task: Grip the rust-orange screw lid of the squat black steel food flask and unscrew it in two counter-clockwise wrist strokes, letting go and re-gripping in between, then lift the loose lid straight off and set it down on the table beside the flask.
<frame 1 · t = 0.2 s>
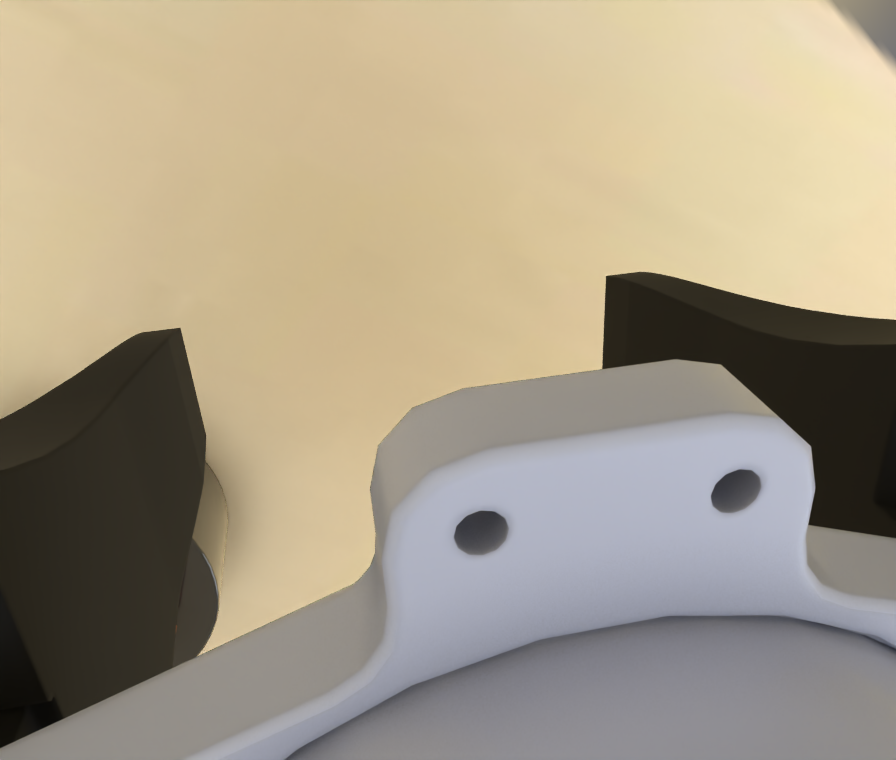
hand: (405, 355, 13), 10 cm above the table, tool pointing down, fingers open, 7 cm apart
flask: (99, 518, 25), on the table
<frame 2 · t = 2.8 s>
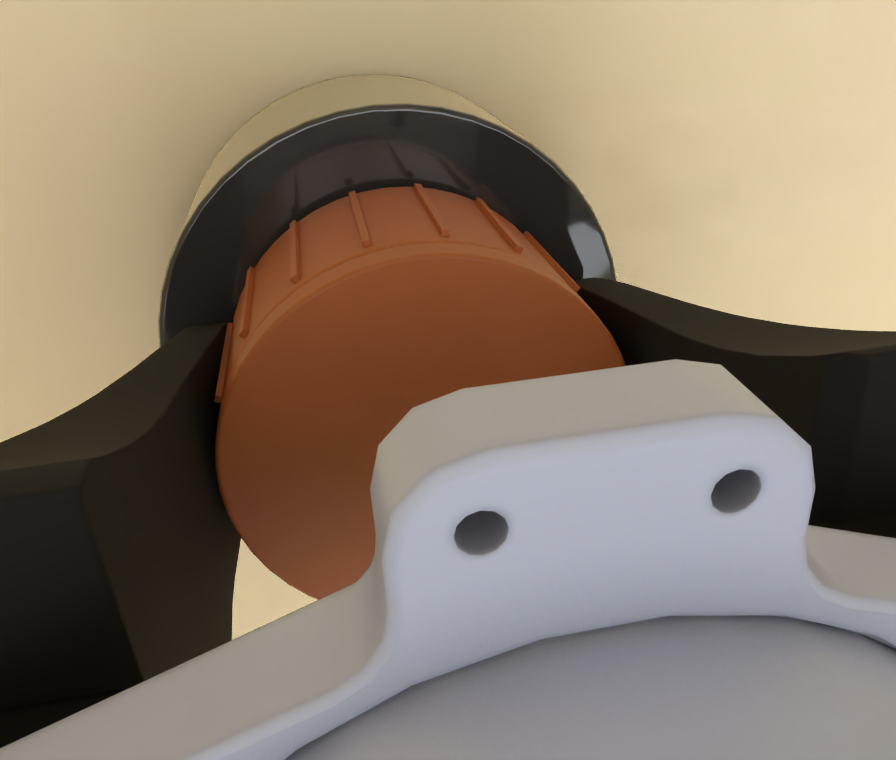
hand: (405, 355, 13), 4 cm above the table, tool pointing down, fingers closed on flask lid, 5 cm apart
flask lid: (428, 438, 11), point 7 cm above the table, screwed on, not yet turned, touching gripper
flask: (377, 269, 17), on the table
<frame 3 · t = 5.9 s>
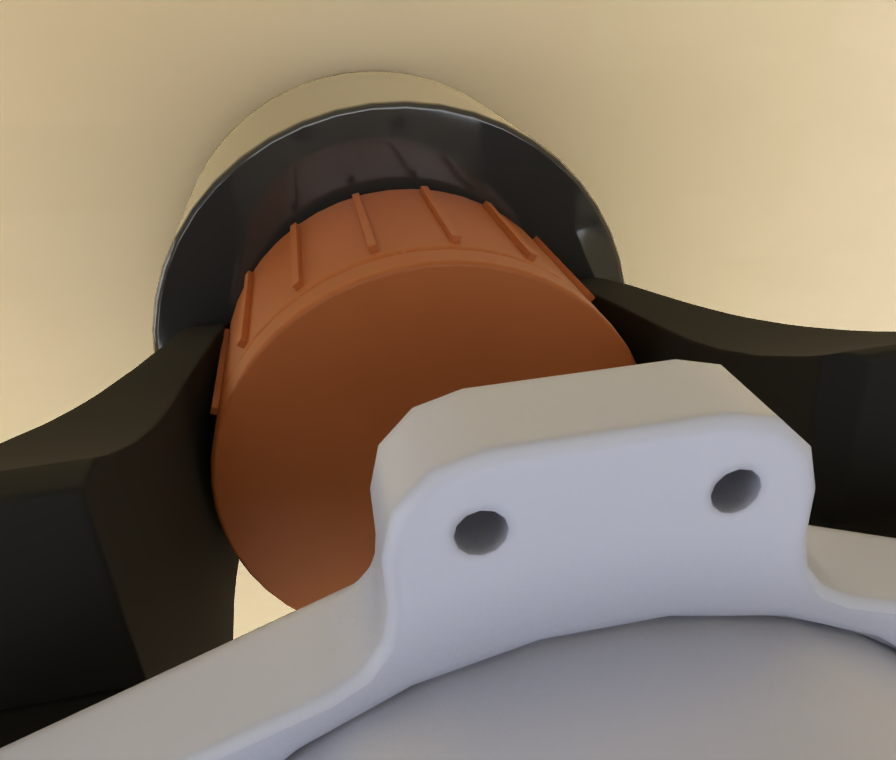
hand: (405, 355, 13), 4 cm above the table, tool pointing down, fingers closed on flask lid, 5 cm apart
flask lid: (434, 453, 10), point 8 cm above the table, turned 89° so far, risen 0.1 cm, still on its thread, touching gripper
flask: (377, 271, 17), on the table
when the fingers open (4 cm above the table, at t = 8.3 s): flask lid stays where it is, point 7 cm above the table.
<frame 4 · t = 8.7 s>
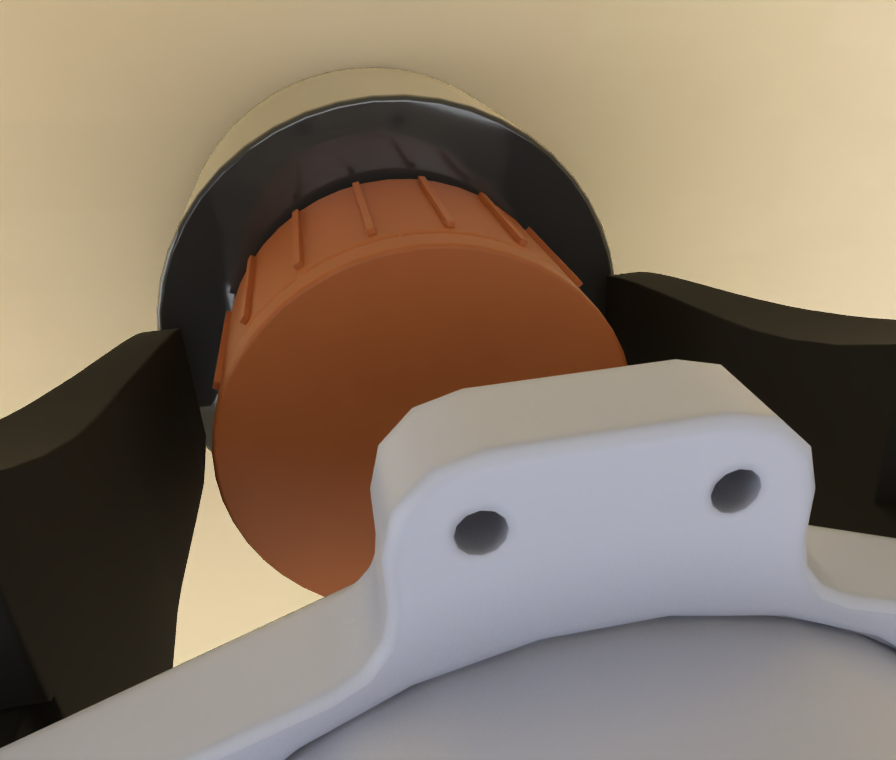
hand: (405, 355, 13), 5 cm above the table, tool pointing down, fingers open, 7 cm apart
flask lid: (427, 431, 11), point 7 cm above the table, turned 89° so far, risen 0.1 cm, still on its thread
flask: (375, 262, 17), on the table
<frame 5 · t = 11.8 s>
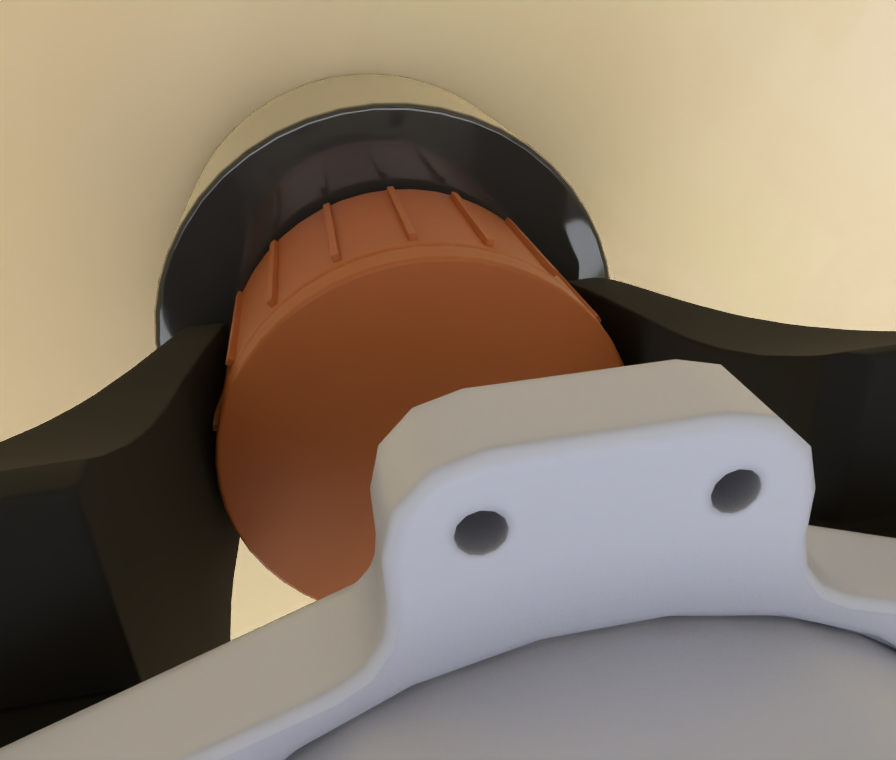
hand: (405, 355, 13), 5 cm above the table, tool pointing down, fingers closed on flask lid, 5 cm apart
flask lid: (428, 440, 11), point 7 cm above the table, off its thread, touching gripper
flask: (373, 267, 17), on the table
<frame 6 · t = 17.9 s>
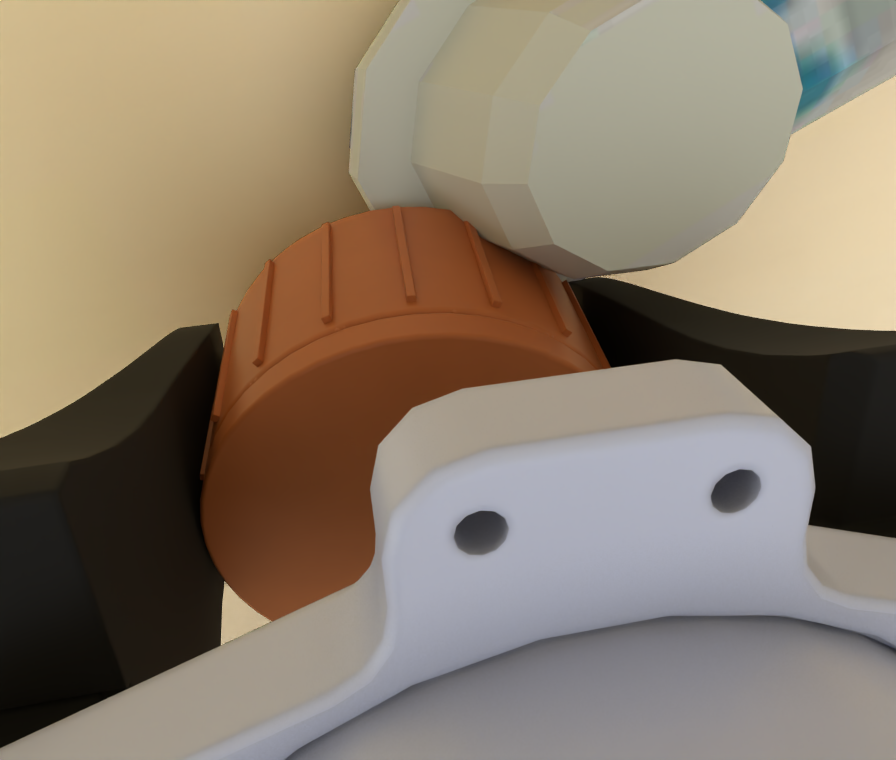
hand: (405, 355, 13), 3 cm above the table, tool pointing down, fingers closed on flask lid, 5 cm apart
flask lid: (425, 493, 10), point 6 cm above the table, tilted 10°, off its thread, touching gripper, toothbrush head
when the fingers open (2 cm above the table, at t = 18.7 s): flask lid drops 3 cm and tips over, point 3 cm above the table.
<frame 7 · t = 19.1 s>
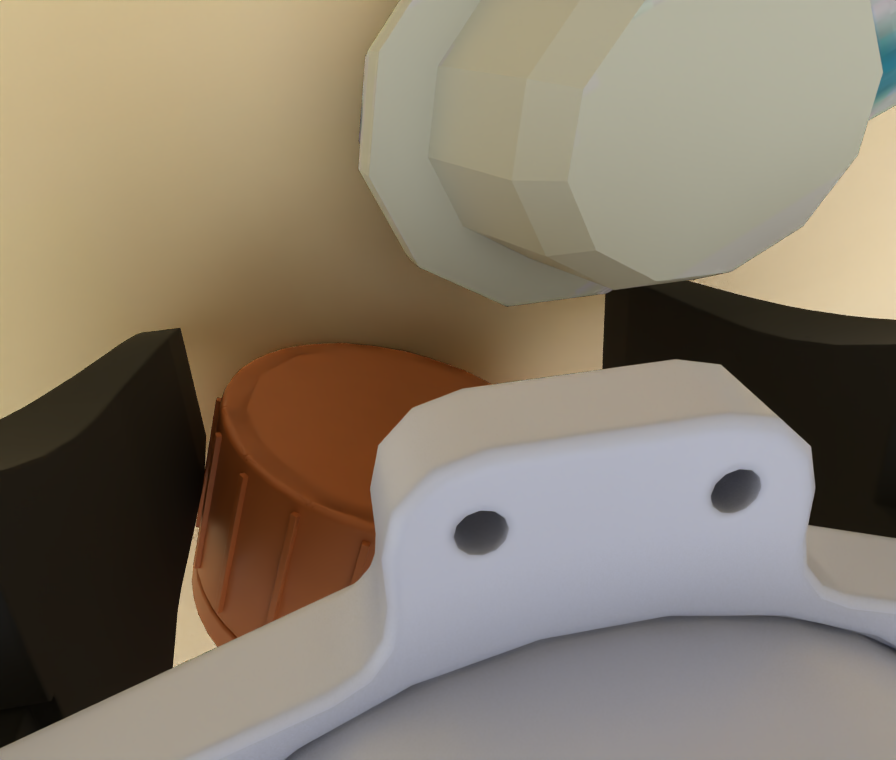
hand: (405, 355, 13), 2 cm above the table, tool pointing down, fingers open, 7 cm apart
flask lid: (364, 563, 14), point 3 cm above the table, tilted 91°, off its thread
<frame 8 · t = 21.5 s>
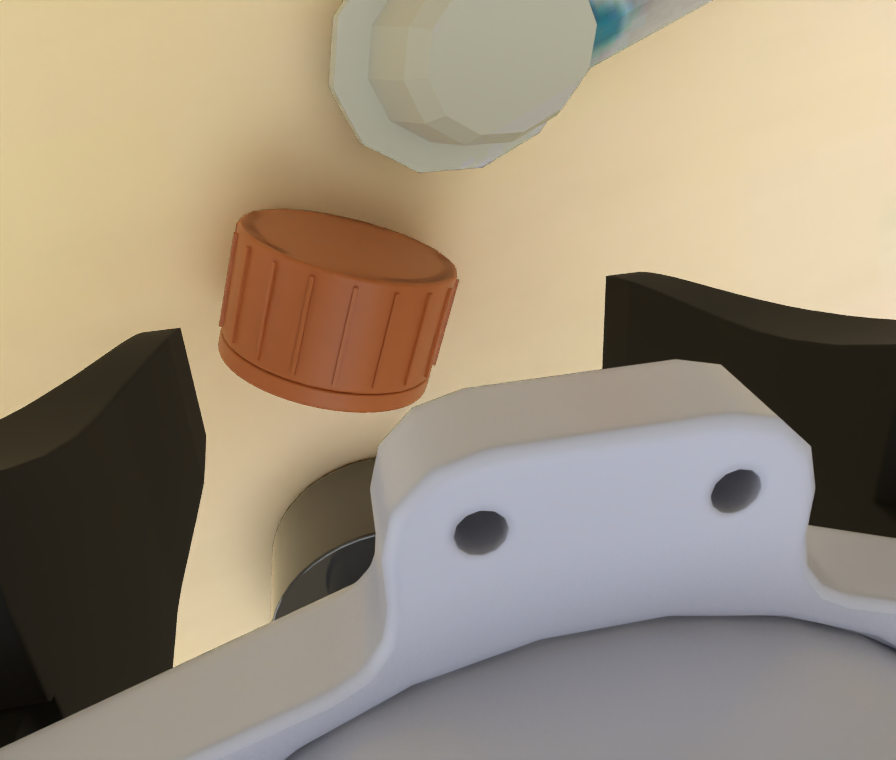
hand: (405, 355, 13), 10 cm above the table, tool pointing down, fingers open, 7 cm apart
flask lid: (328, 346, 21), point 3 cm above the table, tilted 88°, off its thread
flask: (385, 549, 28), on the table
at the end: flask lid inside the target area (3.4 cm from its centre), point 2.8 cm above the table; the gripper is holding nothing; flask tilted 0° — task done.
